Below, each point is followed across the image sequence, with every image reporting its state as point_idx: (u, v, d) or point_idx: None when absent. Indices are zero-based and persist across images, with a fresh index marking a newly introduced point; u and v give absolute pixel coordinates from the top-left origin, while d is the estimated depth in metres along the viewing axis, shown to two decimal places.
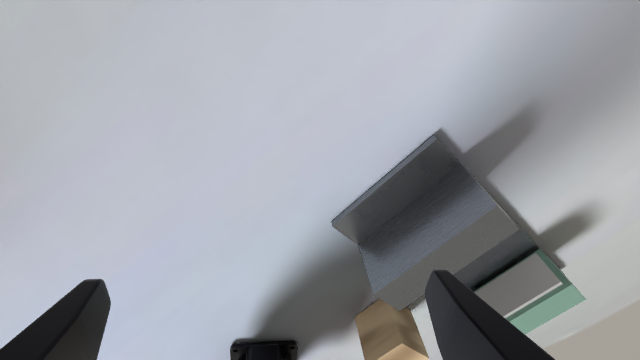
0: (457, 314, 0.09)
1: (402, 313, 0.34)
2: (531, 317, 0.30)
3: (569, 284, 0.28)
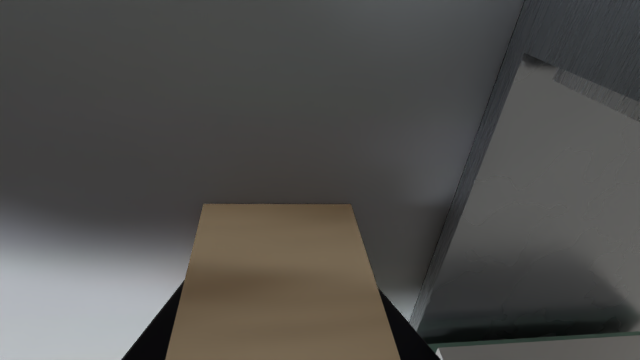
0: None
1: None
2: None
3: None
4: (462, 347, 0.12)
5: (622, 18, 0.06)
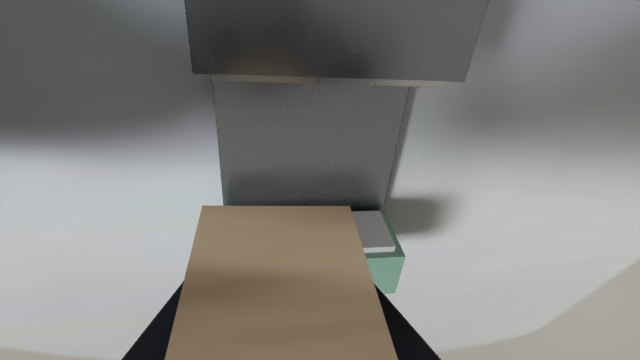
0: None
1: None
2: None
3: (402, 255, 0.20)
4: None
5: None
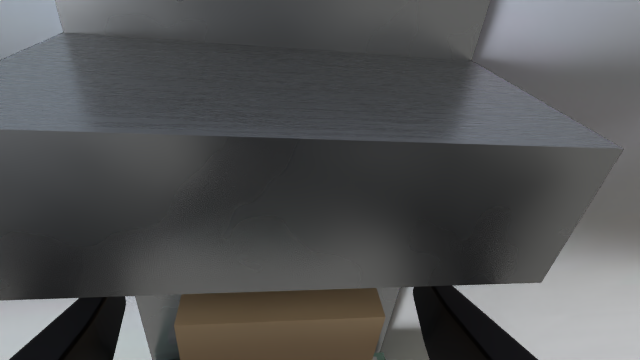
0: (443, 315, 0.09)
1: None
2: None
3: None
4: None
5: None
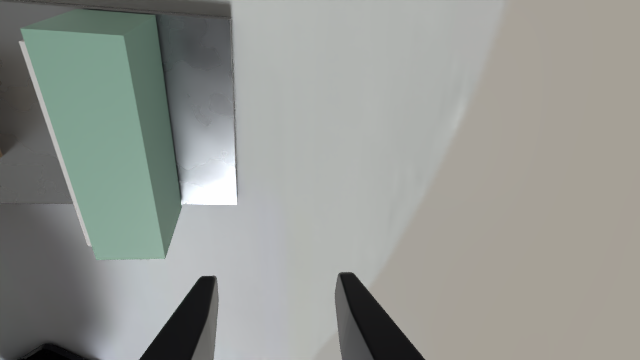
0: (350, 319, 0.09)
1: None
2: (93, 148, 0.14)
3: (23, 32, 0.11)
4: None
5: None
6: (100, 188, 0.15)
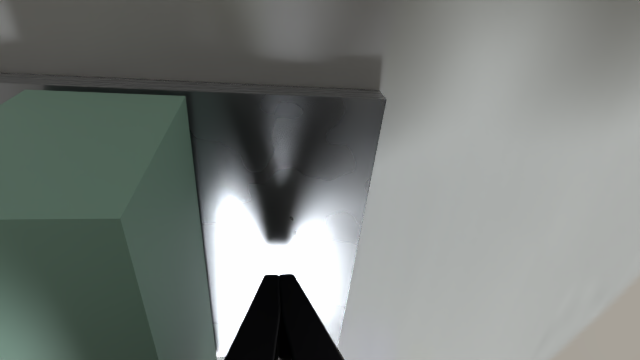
0: (282, 322, 0.08)
1: None
2: None
3: None
4: None
5: None
6: None
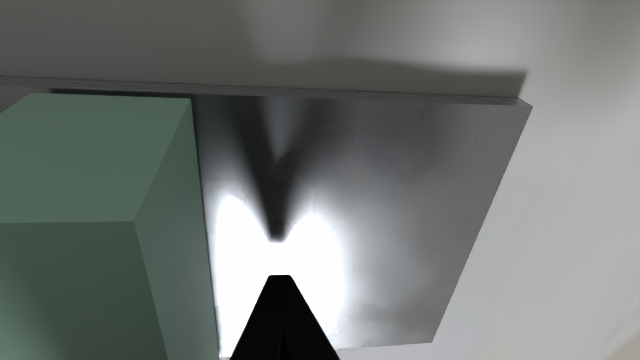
0: None
1: None
2: None
3: None
4: None
5: None
6: None
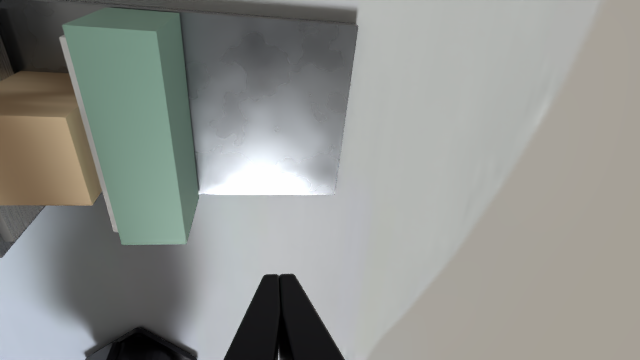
0: (282, 322, 0.08)
1: (56, 81, 0.16)
2: (124, 137, 0.15)
3: (64, 29, 0.12)
4: None
5: None
6: (129, 176, 0.16)
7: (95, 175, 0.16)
